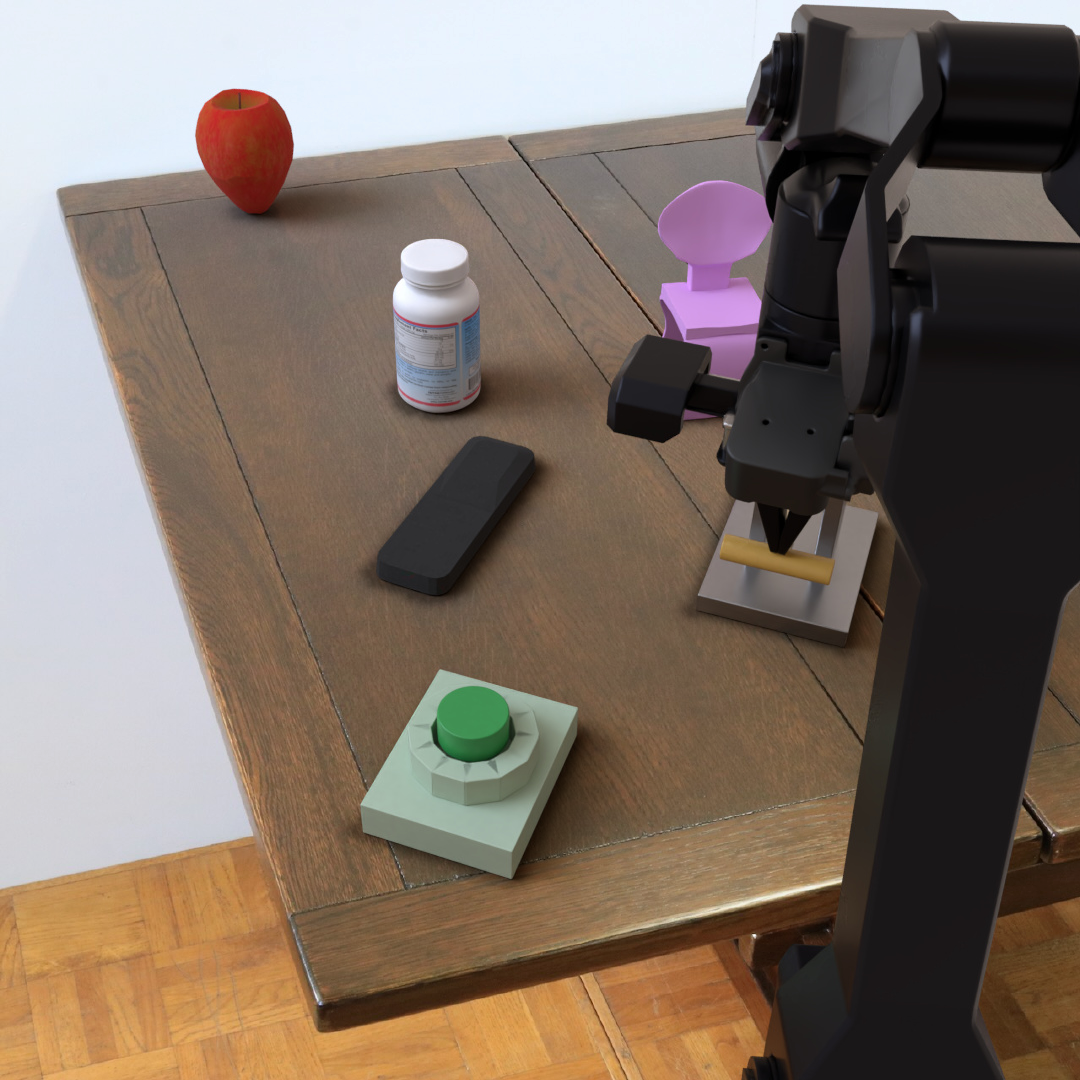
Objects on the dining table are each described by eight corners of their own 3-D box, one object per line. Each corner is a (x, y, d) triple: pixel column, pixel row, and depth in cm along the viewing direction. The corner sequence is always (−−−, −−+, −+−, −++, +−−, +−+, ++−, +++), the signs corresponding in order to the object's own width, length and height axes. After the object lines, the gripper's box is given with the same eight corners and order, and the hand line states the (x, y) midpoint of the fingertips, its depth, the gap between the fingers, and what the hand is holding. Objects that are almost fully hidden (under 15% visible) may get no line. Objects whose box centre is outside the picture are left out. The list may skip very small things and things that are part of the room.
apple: (186, 206, 119) (168, 87, 112) (268, 181, 124) (254, 65, 117) (237, 241, 114) (220, 119, 107) (319, 213, 119) (309, 95, 112)
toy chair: (666, 425, 95) (686, 233, 85) (635, 360, 101) (651, 174, 92) (777, 415, 96) (809, 224, 86) (739, 351, 102) (765, 167, 93)
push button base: (512, 879, 64) (513, 828, 62) (362, 832, 66) (357, 780, 64) (576, 735, 72) (580, 683, 69) (440, 696, 74) (438, 645, 71)
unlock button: (493, 770, 65) (493, 747, 64) (426, 750, 66) (425, 727, 65) (519, 719, 68) (519, 696, 67) (454, 701, 69) (453, 677, 67)
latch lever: (826, 597, 71) (833, 564, 69) (717, 570, 72) (721, 537, 71) (860, 478, 79) (867, 445, 77) (761, 456, 80) (766, 424, 79)
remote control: (443, 605, 80) (540, 463, 90) (442, 584, 79) (540, 443, 89) (371, 583, 82) (474, 445, 92) (369, 561, 80) (474, 425, 91)
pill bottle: (446, 361, 100) (443, 224, 93) (497, 396, 97) (498, 257, 90) (380, 388, 97) (372, 249, 90) (430, 426, 94) (425, 284, 87)
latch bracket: (844, 648, 77) (875, 518, 71) (695, 610, 80) (712, 480, 73) (875, 527, 86) (906, 401, 80) (740, 496, 88) (759, 371, 82)
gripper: (579, 334, 57) (565, 601, 67) (1023, 425, 53) (938, 697, 63) (649, 225, 65) (628, 478, 75) (1040, 297, 61) (962, 555, 71)
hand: (779, 549), depth 71 cm, fingers closed, pressing on latch lever
